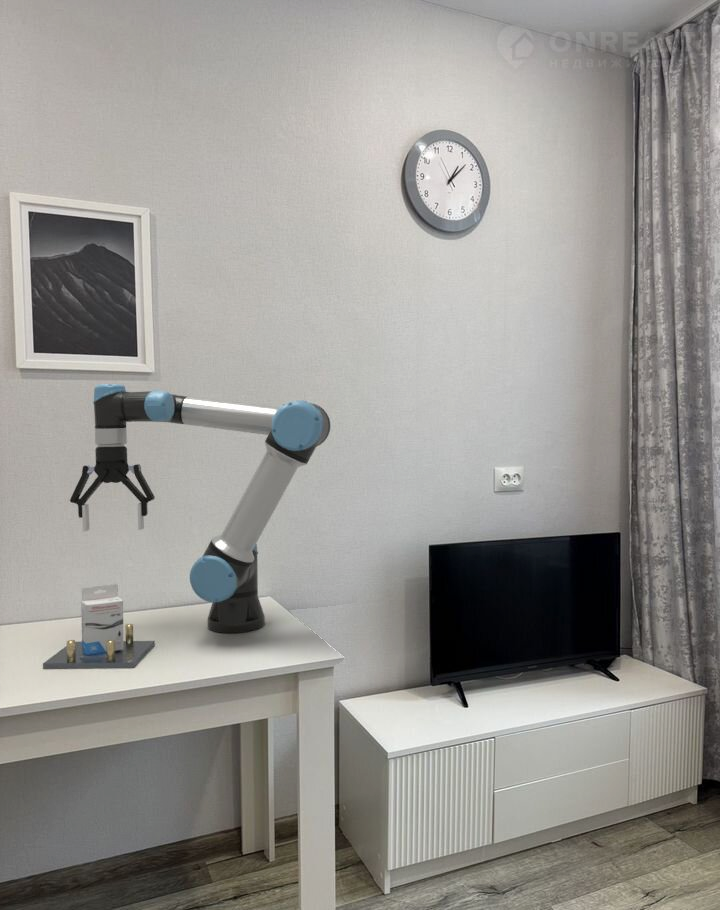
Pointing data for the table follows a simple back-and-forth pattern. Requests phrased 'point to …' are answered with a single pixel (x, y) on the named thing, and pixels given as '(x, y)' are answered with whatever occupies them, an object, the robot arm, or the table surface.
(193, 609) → the table surface
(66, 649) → the plate
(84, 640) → the ink box
